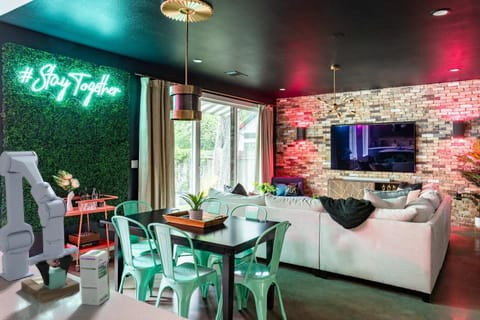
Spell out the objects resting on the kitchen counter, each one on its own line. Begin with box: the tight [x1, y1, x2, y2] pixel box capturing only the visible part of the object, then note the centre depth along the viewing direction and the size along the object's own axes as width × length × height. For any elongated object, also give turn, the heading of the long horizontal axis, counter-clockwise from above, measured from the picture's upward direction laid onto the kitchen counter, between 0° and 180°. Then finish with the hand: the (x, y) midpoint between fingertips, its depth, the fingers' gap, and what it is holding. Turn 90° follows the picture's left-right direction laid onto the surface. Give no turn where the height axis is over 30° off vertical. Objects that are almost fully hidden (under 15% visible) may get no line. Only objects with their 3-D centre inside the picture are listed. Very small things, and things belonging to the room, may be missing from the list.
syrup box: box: [79, 249, 111, 306], centre depth 105 cm, size 6×6×14 cm
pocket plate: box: [20, 275, 81, 304], centre depth 113 cm, size 16×11×3 cm
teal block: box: [44, 266, 66, 290], centre depth 111 cm, size 4×4×7 cm
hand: (55, 282), depth 111 cm, fingers closed on teal block, 4 cm apart
